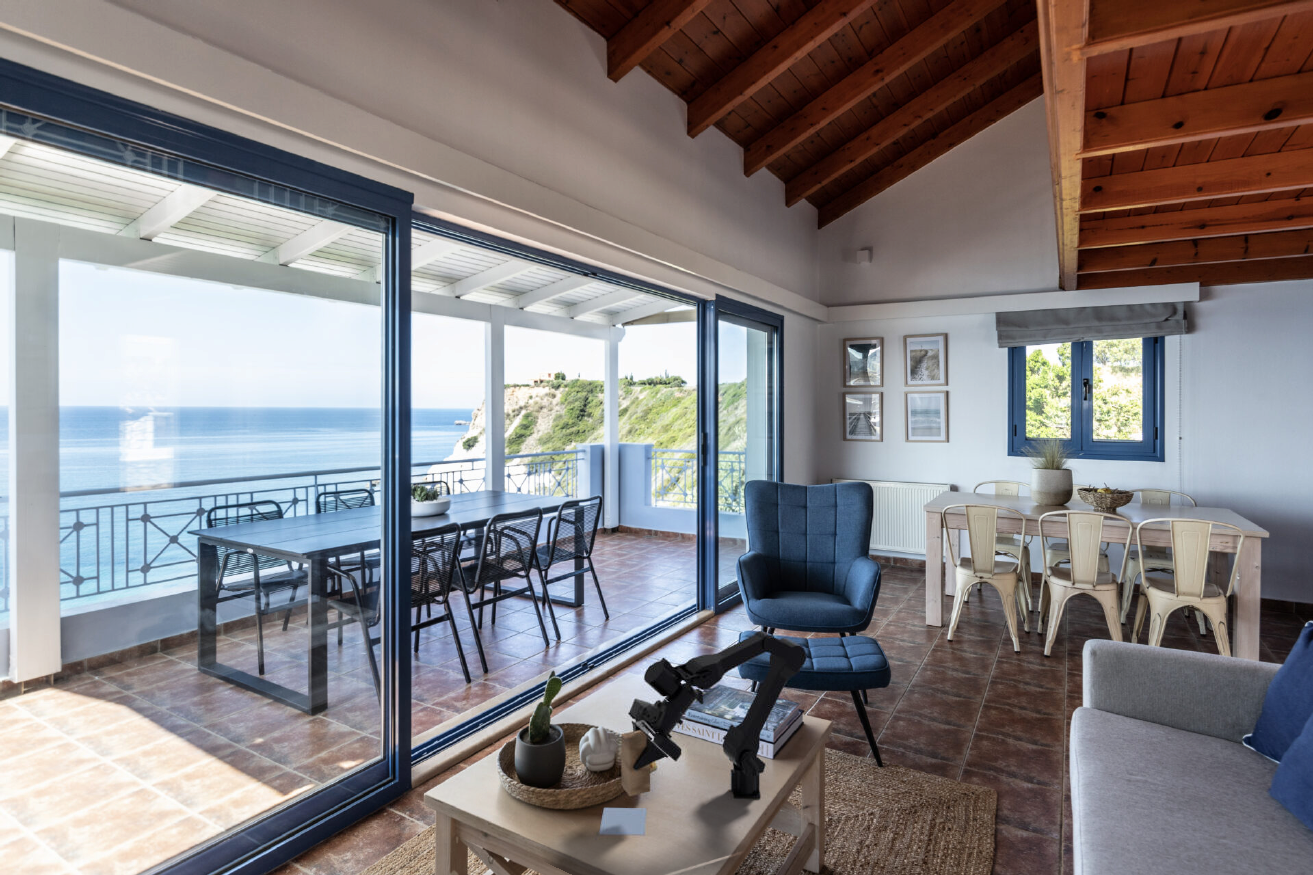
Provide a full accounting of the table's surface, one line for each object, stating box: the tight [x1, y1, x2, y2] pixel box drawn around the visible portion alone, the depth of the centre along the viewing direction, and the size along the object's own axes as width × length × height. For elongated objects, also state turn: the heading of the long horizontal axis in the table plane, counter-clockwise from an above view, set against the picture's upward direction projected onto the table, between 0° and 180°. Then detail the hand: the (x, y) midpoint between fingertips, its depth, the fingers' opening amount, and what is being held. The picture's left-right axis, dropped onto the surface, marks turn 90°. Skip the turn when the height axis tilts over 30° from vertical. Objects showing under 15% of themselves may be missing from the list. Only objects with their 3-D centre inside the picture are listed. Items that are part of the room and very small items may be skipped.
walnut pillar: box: [620, 730, 651, 797], centre depth 158 cm, size 5×5×12 cm
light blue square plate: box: [598, 807, 648, 836], centre depth 158 cm, size 10×10×1 cm
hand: (630, 763), depth 158 cm, fingers closed on walnut pillar, 5 cm apart
